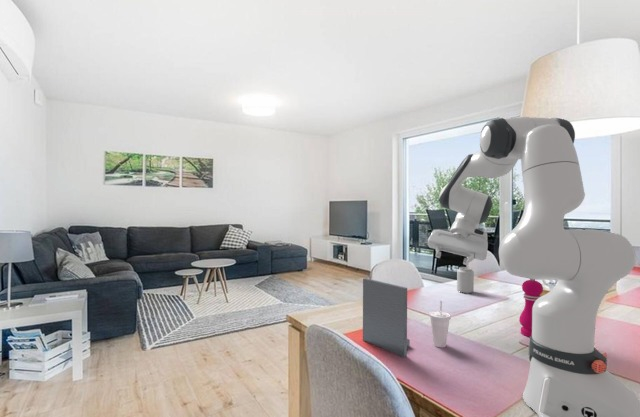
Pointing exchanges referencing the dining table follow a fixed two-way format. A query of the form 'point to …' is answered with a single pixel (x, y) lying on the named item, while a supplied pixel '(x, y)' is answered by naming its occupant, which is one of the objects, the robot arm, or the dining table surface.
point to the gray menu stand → (385, 316)
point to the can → (465, 280)
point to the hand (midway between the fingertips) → (451, 259)
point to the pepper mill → (529, 304)
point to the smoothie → (439, 326)
